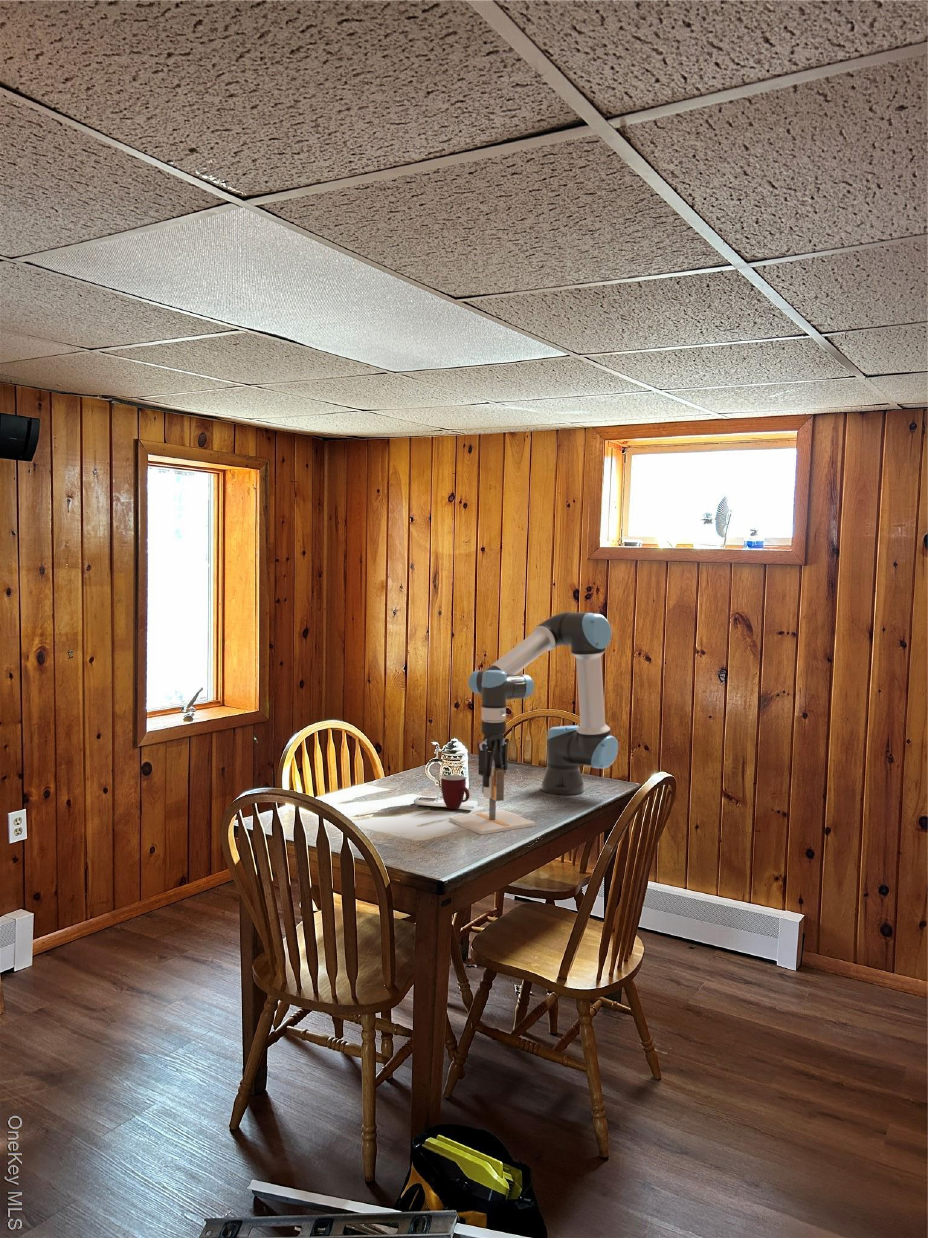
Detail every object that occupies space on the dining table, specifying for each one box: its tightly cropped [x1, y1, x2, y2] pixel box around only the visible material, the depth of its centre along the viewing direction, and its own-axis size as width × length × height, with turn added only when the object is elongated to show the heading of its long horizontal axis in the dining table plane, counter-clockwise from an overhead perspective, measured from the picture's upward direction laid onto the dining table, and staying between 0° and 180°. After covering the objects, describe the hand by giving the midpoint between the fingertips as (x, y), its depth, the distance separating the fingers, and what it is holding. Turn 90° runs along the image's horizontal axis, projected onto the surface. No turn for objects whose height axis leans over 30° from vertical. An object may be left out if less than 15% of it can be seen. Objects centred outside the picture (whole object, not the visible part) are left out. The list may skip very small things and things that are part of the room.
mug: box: [440, 774, 470, 810], centre depth 300 cm, size 11×8×10 cm
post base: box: [449, 798, 537, 835], centre depth 282 cm, size 20×18×8 cm
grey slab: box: [481, 764, 505, 802], centre depth 282 cm, size 11×3×9 cm, turn 22°
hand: (492, 795), depth 282 cm, fingers closed on grey slab, 4 cm apart
